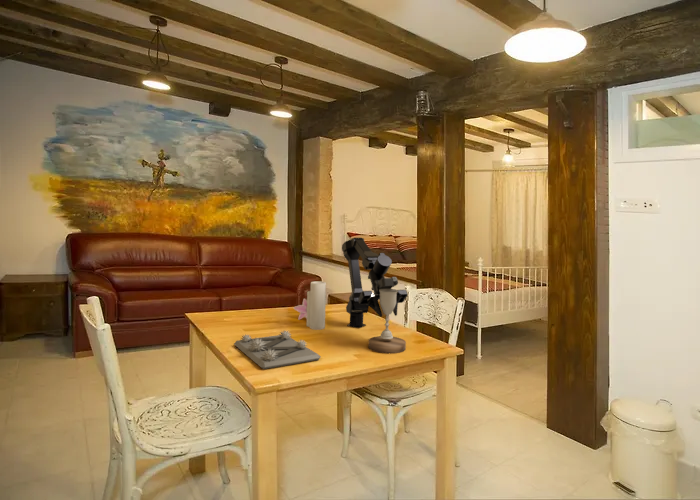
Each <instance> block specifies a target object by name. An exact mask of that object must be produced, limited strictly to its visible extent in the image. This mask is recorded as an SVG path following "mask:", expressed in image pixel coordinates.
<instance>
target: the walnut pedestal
mask: <svg viewBox="0 0 700 500" xmlns="http://www.w3.org/2000/svg"><path fill="white" fill-rule="evenodd" d="M380 336H381V335H379V336H378V335H377V336H374V337H371V338H369V339H368V349H369V350H371V351H372V352H375V353H378V354H379V353H381V354H389V353H390V354H400V353H402V352H403V353H404V351H406V348H407V345H406V344H407V342H406V340H405V339H403V338H400V337H397V336H393V338H392V339H383V338H380Z"/></svg>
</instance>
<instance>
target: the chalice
mask: <svg viewBox="0 0 700 500" xmlns="http://www.w3.org/2000/svg"><path fill="white" fill-rule="evenodd" d="M398 290H399V289H395V288H391V289H379V292H380V299H379V306H380V309H381V312H382V314H384V315H385V318H384V320H385V322H384V323H385V324H384V326H385V328H384V330H382V332H381V333H380V335H379V336H380V338H383V339H392V338H393V337H394V336H393V333H392V331H391V330H390V329H389V326H390V323H389V321H390V318H389V317H390V316H391V315H392V313H393V310H394V308H395V305H396V296H397V292H398Z"/></svg>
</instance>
